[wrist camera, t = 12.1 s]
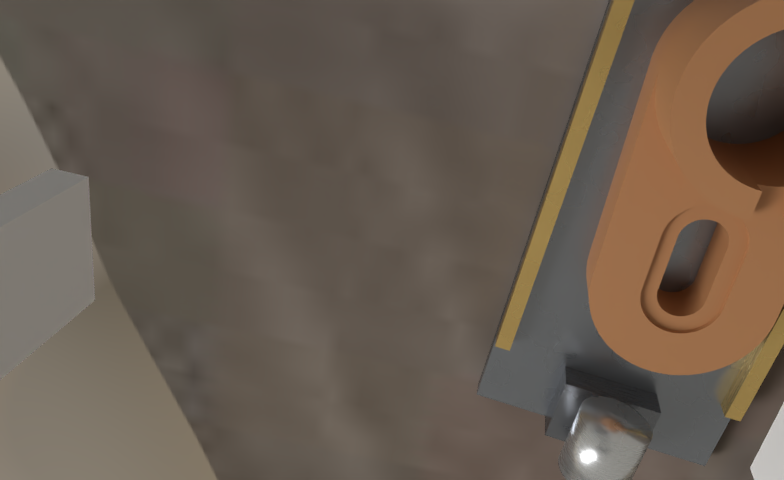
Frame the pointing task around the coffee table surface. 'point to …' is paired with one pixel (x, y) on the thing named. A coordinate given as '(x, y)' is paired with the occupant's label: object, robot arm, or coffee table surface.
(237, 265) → the coffee table surface
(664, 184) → the bracket
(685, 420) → the coupling bench
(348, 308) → the coffee table surface
